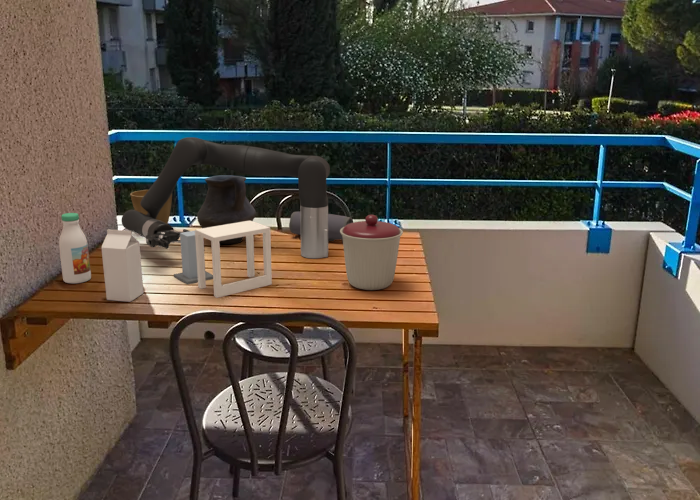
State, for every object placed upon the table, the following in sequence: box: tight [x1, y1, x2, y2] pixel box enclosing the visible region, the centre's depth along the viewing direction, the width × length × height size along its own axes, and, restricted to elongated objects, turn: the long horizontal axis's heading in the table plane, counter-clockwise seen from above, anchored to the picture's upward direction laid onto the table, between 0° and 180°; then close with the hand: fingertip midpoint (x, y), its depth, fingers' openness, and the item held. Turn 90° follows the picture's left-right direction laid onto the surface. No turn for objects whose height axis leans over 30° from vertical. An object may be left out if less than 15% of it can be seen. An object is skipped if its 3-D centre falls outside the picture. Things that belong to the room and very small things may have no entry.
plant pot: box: [130, 189, 173, 224], centre depth 237 cm, size 15×15×16 cm
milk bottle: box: [58, 212, 92, 284], centre depth 185 cm, size 8×8×20 cm
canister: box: [340, 214, 404, 291], centre depth 183 cm, size 18×18×21 cm
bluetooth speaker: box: [288, 211, 354, 242], centre depth 233 cm, size 23×9×10 cm, turn 67°
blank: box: [179, 230, 206, 279], centre depth 189 cm, size 5×5×13 cm
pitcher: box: [196, 174, 257, 245], centre depth 227 cm, size 21×22×25 cm
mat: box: [173, 270, 213, 286], centre depth 191 cm, size 9×9×1 cm
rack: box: [194, 220, 273, 299], centre depth 182 cm, size 11×18×17 cm, turn 130°
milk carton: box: [100, 229, 144, 302], centre depth 172 cm, size 7×7×19 cm
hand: (180, 243), depth 193 cm, fingers open, 8 cm apart
